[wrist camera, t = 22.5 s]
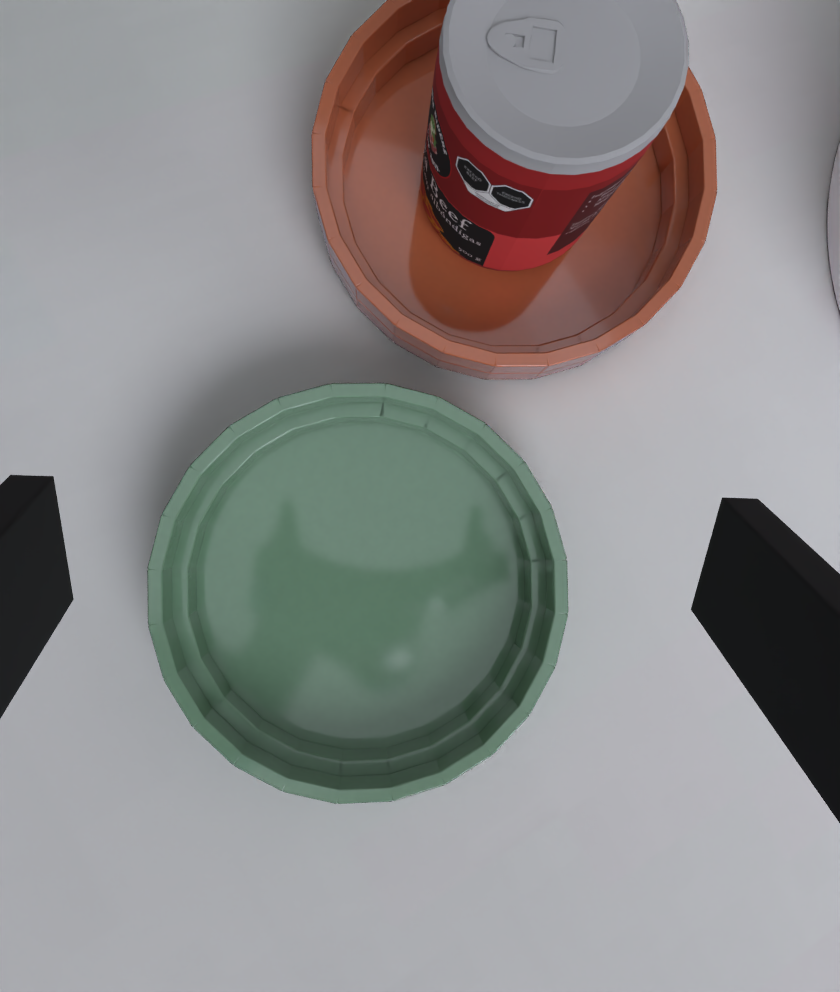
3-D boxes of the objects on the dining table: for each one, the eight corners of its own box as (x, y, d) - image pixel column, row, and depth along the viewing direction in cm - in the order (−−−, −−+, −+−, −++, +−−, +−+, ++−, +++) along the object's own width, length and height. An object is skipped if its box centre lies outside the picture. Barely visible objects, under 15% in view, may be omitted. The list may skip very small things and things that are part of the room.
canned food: (406, 125, 34) (421, -61, 23) (574, 102, 34) (670, -91, 23) (433, 289, 34) (463, 183, 23) (602, 264, 34) (711, 147, 23)
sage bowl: (127, 725, 33) (99, 751, 29) (224, 354, 33) (207, 336, 30) (499, 810, 34) (513, 844, 30) (586, 447, 34) (610, 440, 31)
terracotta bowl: (277, 327, 33) (266, 306, 30) (369, -30, 34) (368, -90, 31) (636, 420, 34) (665, 411, 31) (720, 71, 35) (757, 25, 32)
